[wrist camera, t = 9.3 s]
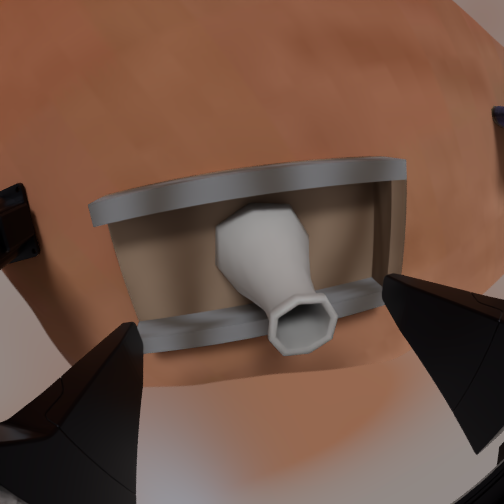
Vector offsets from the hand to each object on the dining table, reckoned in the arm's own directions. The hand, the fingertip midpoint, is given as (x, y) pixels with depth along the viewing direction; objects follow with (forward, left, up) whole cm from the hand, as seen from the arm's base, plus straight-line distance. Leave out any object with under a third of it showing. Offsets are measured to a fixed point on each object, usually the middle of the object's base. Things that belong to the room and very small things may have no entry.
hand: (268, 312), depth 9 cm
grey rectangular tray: (+2, -2, -13) cm, 13 cm away
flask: (+2, -2, -12) cm, 12 cm away
